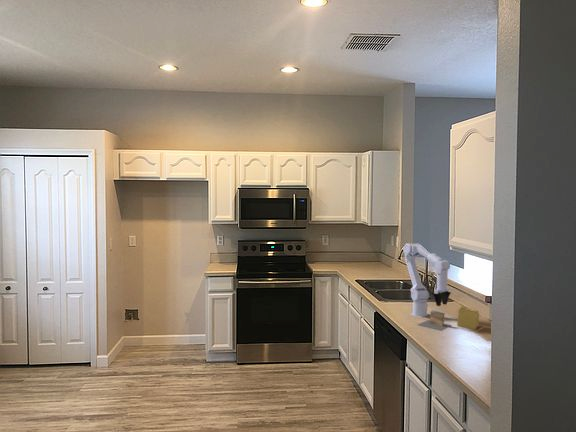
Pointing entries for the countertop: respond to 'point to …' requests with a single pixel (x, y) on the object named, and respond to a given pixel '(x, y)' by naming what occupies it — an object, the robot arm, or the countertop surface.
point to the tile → (437, 318)
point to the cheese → (468, 318)
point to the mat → (433, 326)
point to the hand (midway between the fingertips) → (441, 305)
